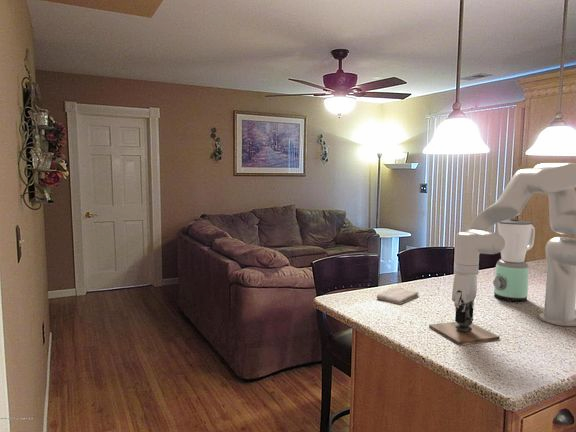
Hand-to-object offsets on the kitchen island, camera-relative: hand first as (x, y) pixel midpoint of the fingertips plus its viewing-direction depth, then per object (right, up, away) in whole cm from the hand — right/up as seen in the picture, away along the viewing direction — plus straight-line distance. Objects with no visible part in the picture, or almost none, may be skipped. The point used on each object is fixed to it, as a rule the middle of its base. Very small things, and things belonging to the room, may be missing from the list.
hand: (464, 319), depth 147 cm
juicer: (+38, -1, +41) cm, 56 cm away
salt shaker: (0, -3, 0) cm, 3 cm away
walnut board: (0, -5, 0) cm, 5 cm away
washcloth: (-12, -1, +42) cm, 43 cm away
